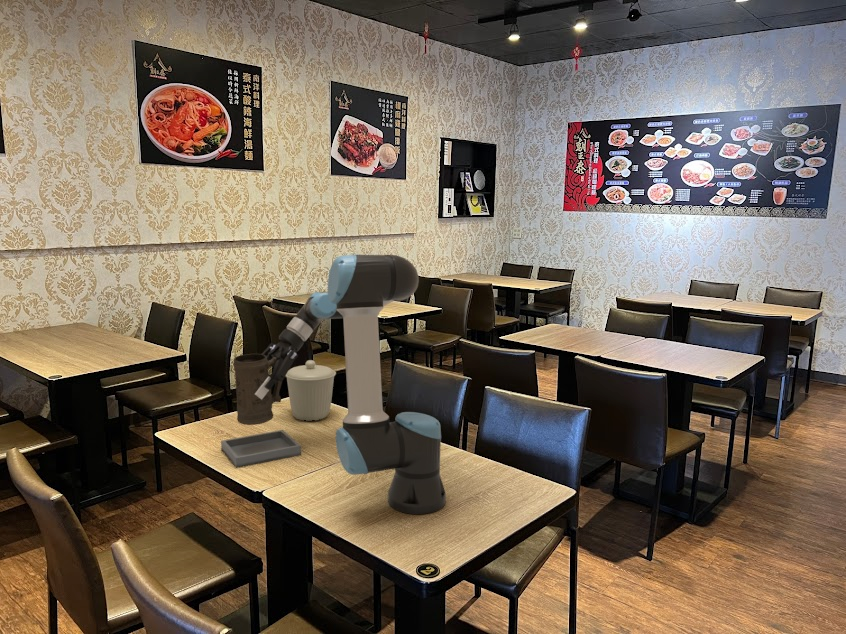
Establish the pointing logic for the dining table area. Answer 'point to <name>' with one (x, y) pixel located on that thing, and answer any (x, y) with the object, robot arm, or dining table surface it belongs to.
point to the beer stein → (254, 388)
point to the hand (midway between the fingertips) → (250, 392)
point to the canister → (310, 390)
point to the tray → (260, 448)
